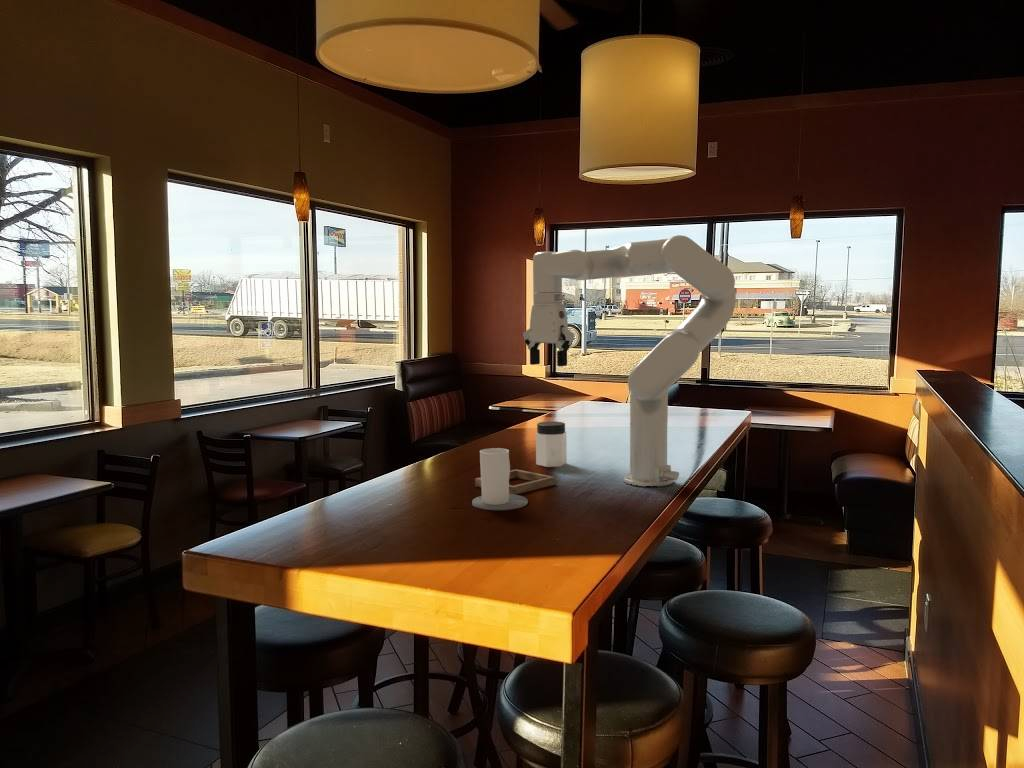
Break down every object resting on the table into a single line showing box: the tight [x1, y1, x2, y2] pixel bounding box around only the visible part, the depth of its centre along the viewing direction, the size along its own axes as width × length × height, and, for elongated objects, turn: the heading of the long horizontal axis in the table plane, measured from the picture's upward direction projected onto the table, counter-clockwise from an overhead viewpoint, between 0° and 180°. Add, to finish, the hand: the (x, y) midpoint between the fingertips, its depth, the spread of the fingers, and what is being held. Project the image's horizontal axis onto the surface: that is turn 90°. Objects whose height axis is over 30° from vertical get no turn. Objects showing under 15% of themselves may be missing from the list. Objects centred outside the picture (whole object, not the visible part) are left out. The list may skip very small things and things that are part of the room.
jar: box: [535, 420, 568, 468], centre depth 222 cm, size 9×8×12 cm
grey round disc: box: [471, 494, 529, 511], centre depth 179 cm, size 13×13×1 cm
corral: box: [474, 468, 556, 495], centre depth 197 cm, size 14×15×2 cm
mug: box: [479, 447, 511, 505], centre depth 179 cm, size 10×7×12 cm, turn 150°
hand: (548, 365), depth 201 cm, fingers open, 9 cm apart
